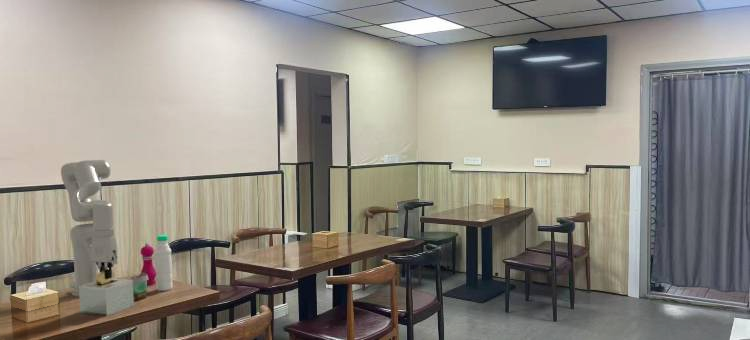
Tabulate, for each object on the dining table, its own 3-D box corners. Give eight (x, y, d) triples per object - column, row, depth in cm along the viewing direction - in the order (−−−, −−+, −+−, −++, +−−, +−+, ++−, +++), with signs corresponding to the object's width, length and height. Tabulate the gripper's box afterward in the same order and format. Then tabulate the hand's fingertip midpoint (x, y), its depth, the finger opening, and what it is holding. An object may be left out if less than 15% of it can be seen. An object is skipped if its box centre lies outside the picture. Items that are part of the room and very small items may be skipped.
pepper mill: (151, 281, 281) (150, 241, 280) (159, 283, 276) (157, 242, 275) (137, 284, 275) (135, 243, 274) (145, 286, 271) (143, 244, 270)
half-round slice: (138, 302, 243) (137, 279, 242) (125, 302, 244) (124, 279, 243) (155, 295, 255) (154, 272, 254) (142, 294, 256) (141, 272, 256)
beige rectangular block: (93, 279, 229) (104, 266, 234) (99, 287, 232) (110, 274, 237) (98, 279, 228) (109, 266, 233) (104, 288, 231) (115, 275, 236)
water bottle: (174, 287, 268) (172, 234, 267) (170, 291, 261) (167, 236, 260) (159, 287, 268) (157, 234, 267) (154, 291, 261) (151, 237, 260)
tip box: (80, 312, 230) (79, 285, 229) (108, 303, 243) (107, 277, 242) (106, 315, 225) (105, 288, 224) (133, 306, 238) (132, 279, 237)
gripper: (81, 234, 232) (83, 279, 233) (111, 235, 226) (113, 281, 227) (96, 231, 239) (98, 275, 240) (125, 232, 233) (128, 277, 234)
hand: (105, 277), depth 233 cm, fingers closed on beige rectangular block
